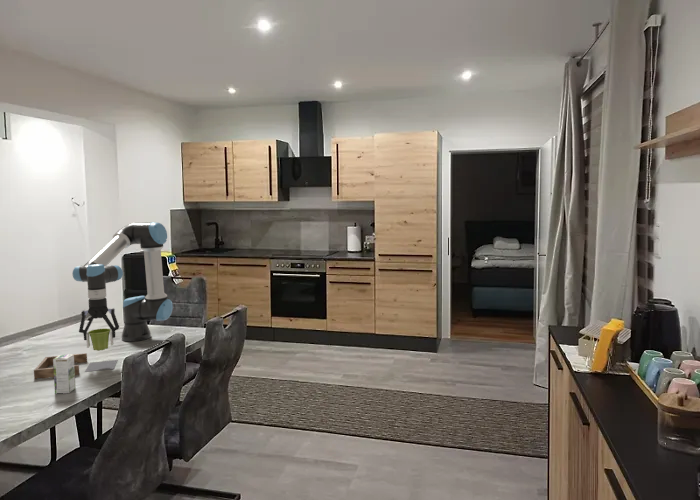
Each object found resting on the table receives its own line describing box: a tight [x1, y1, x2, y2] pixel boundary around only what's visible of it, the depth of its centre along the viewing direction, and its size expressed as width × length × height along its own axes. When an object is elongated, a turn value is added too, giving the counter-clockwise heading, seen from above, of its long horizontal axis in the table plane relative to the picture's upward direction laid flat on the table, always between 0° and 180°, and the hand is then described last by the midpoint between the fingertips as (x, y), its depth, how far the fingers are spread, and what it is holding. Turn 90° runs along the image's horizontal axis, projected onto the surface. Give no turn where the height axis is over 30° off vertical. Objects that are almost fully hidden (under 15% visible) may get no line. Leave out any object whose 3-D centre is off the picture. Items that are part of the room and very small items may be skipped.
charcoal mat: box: [84, 359, 118, 373], centre depth 243 cm, size 12×14×1 cm
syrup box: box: [52, 353, 76, 395], centre depth 210 cm, size 6×6×14 cm
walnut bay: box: [33, 353, 88, 380], centre depth 238 cm, size 17×20×4 cm
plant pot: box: [87, 328, 111, 352], centre depth 242 cm, size 9×9×9 cm
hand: (100, 345), depth 242 cm, fingers closed on plant pot, 9 cm apart
